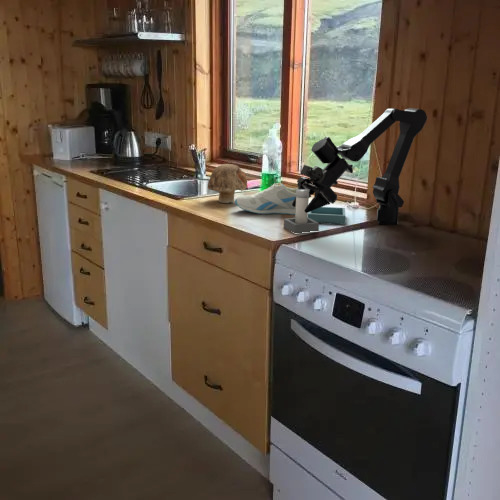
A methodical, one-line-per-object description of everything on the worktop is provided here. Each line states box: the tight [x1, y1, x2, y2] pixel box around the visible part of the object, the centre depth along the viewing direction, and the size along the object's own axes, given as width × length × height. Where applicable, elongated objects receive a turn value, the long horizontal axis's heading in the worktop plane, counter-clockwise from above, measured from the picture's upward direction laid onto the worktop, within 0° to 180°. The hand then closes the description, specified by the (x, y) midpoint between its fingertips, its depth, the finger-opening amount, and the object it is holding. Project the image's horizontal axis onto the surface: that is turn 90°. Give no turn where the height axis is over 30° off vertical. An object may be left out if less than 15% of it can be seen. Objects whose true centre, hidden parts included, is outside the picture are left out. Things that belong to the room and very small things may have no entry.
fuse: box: [294, 189, 310, 224], centre depth 188 cm, size 4×4×13 cm
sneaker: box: [234, 182, 298, 216], centre depth 213 cm, size 10×27×11 cm, turn 95°
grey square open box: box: [283, 217, 320, 234], centre depth 190 cm, size 8×8×3 cm
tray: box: [308, 206, 346, 225], centre depth 205 cm, size 13×13×3 cm
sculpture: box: [207, 163, 248, 204], centre depth 228 cm, size 15×16×15 cm
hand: (299, 208), depth 188 cm, fingers open, 9 cm apart
